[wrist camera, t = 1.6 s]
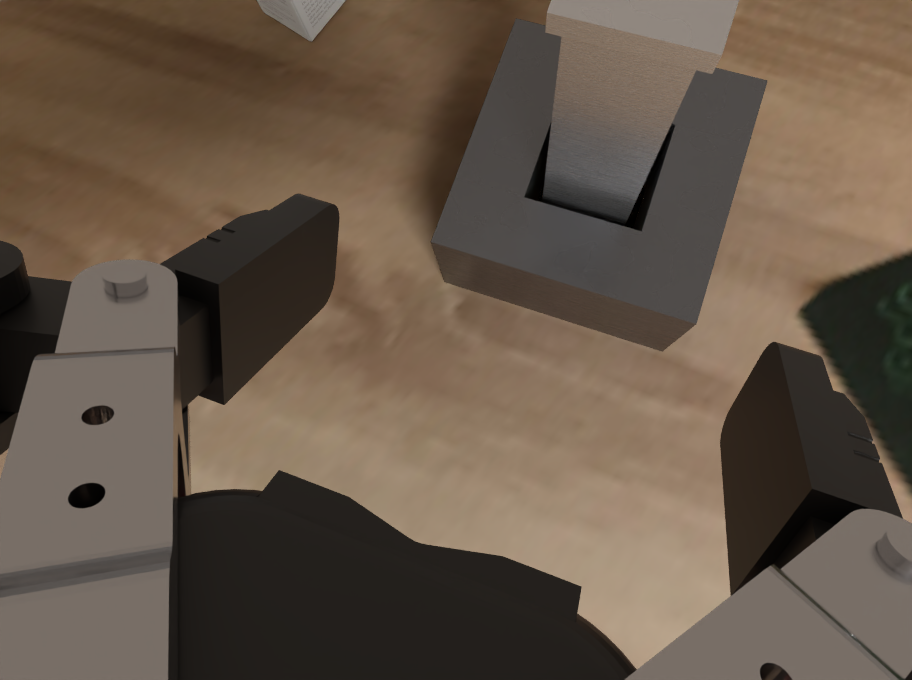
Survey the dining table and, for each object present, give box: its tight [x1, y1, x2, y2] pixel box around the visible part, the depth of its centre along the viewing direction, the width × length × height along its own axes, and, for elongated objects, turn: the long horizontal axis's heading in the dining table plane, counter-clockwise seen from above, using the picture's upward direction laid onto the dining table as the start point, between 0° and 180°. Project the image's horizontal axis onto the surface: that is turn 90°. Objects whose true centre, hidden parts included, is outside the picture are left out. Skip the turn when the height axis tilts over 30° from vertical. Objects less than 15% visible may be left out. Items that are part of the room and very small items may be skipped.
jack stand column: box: [542, 0, 739, 226], centre depth 25 cm, size 5×5×17 cm
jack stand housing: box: [431, 19, 767, 351], centre depth 31 cm, size 12×12×6 cm
